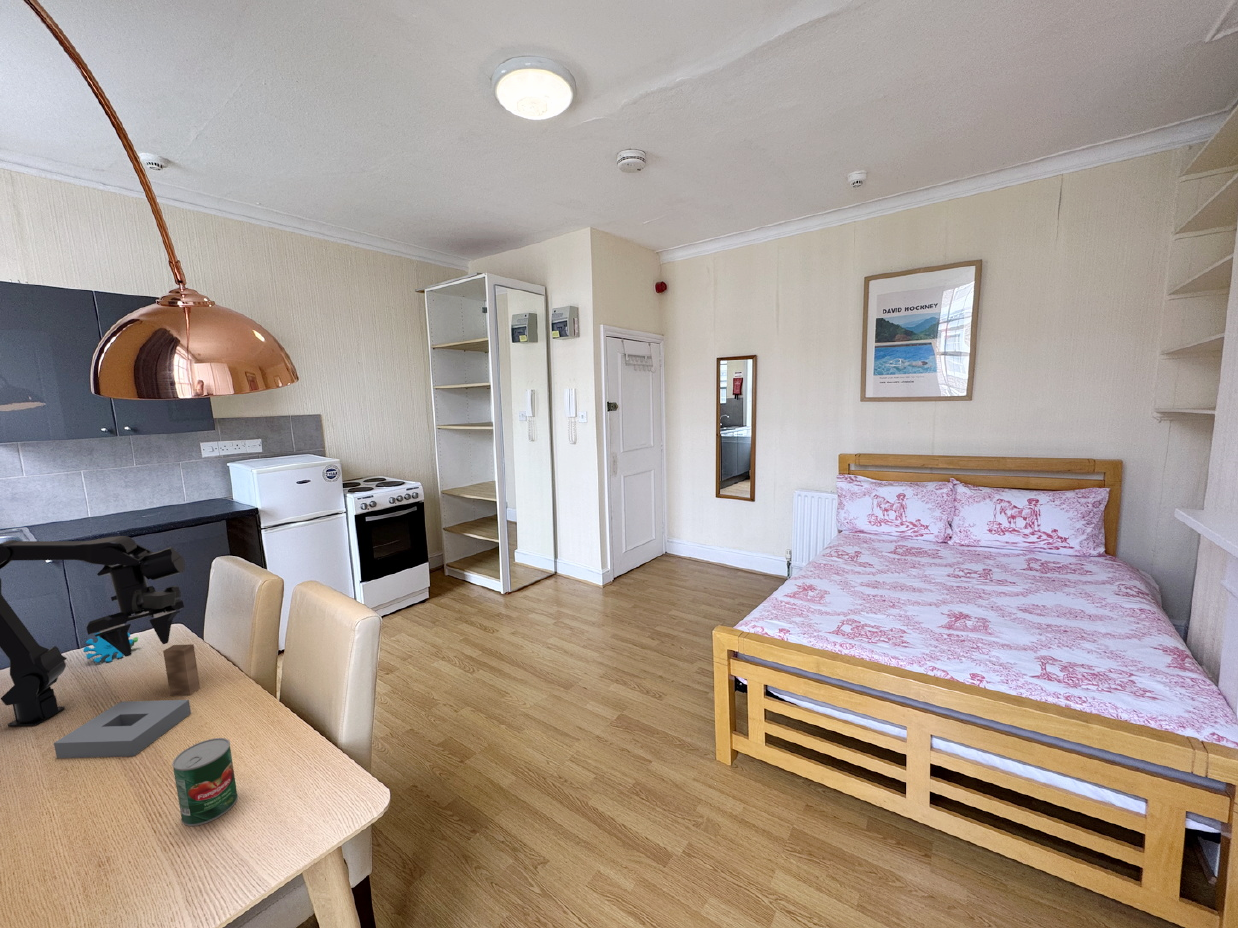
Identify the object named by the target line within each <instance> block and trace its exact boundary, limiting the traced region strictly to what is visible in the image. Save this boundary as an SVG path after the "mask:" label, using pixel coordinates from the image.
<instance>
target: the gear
mask: <svg viewBox="0 0 1238 928" xmlns="http://www.w3.org/2000/svg"><path fill="white" fill-rule="evenodd" d="M99 633H100V632H97V633H94V636H95V635H96V634H99ZM128 637H129V642H130V646H131V648H133V647H134V645H135V643H137V642H138V641H139V637H137V636H135V637H133V638H130V637H131V634H130V632H128ZM95 639H97V642H94V639H93V638H89V639H87V641H85V644H86V645H91V646H93V648H90V646H85V647H83V651H82V652H84V653H87V654H86V659H87V660H91V659H92V658H94V660H93V662H94V663H96V664H99V663H100V662H101V660H103V658H105V660H104V662H106V663H111V662H112V661H113V658H112V657H113V655H114V654H116V659H117V658H119V659H122V658H123V657H124V655H123V654H122V653H121V652H119V651H118V650H117V649H116V648H115V647H114V646H112V645H111V644H110V643H108V642H107V641H105V640H104V639H102V638H101V637H99V636H97V637H95ZM89 652H94V653H89ZM97 656H98V657H97ZM106 656H107V657H106ZM121 657H122V658H121Z"/></svg>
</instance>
